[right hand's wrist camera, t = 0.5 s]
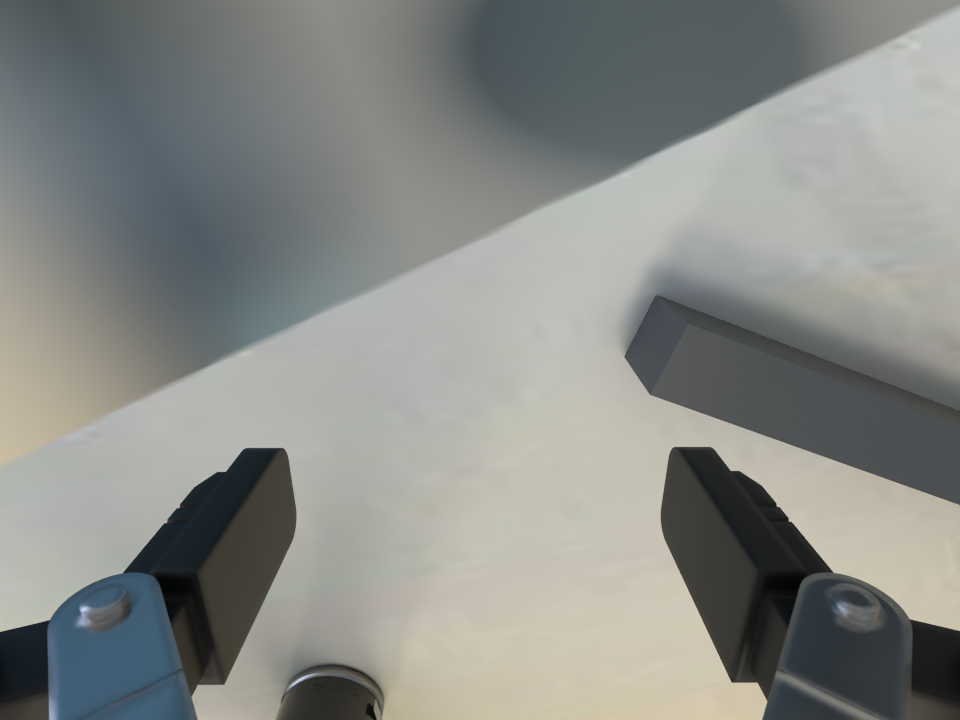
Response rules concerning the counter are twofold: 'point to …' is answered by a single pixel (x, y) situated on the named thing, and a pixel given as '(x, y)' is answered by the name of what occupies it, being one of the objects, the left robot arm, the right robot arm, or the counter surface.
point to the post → (797, 398)
